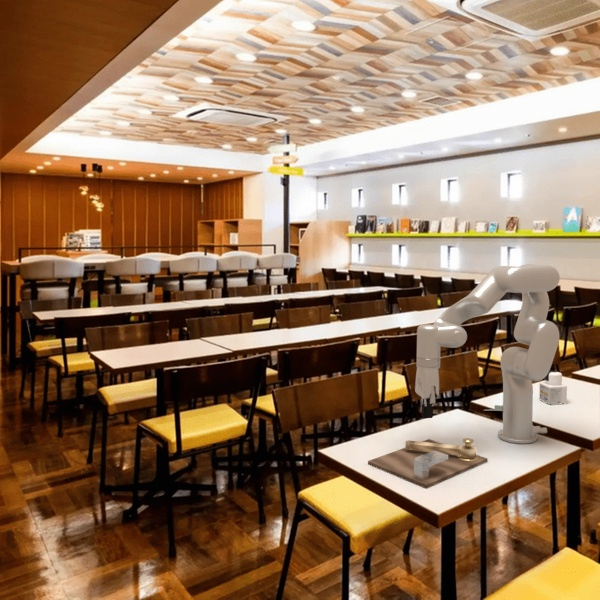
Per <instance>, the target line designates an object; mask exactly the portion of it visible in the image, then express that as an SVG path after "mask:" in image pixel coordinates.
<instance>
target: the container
mask: <svg viewBox="0 0 600 600" xmlns="http://www.w3.org/2000/svg"><path fill="white" fill-rule="evenodd" d="M562 381H563V374H562V373H561V372H560V371H558V370H549V372H548V374H547V375H546V377H545V378H544V382H542V381H541V382H539V400H540V399H541V400H543V401H544V402H547V403H548V404H558V405H560V404H559V403H566V404H567V400H568V399H567V398H568V396H567V395H568V393H567V391H568V387H567V385H565V384H564V383H563V382H562ZM541 400H540V401H541ZM543 401H542V402H543ZM544 402H543V403H544ZM548 404H547V405H548Z"/></svg>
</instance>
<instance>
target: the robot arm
mask: <svg viewBox="0 0 600 600" xmlns="http://www.w3.org/2000/svg"><path fill="white" fill-rule="evenodd" d="M560 278H561V277H560V273H559V271H558V270H557V268H555V267H554V266H552V265H548V264H547V265H546V264H522V265H520V266H515V265H511V266H509V265H498V266H495V267H493V268H492V269H491V270H490V271H489V272H488V273H487V274H486V275H485V276H484V278H482V279H481V281H480V282H479V283H478V284H477V285H476V286H475V288H473V289H472V291H471V292H470V293H469V294H468V295H466V296H465V297H464V298H461V299H460V300H458V301H457V302H455V303H453V304H452V305H450V306H449V307H448V308H446V310H445V311H443V312H442V313H441V315H439V316H438V318H436V320H435V321H434V322H433V323H432V324H430V323H429V324H427V323H426V324H420V325H419V326H418V327H417V330H416V372H415V373H416V374H415V385H414V391H415V393H416V394H417V395H418V396H419V397H421V417H422V418H423V419H433V417H434V415H433V414H434V405H435V404H436V400H437V399H439V396H440V375H439V374H440V373H439V369H441V347H443V348H451V349H453V348H454V349H455V348H460V347H462V346H464V344H465V343H466V341H467V340H468V334H467V331H466V330H465V328H464V327H463V326H460V325H462V324H463V323H464V322H466V321H468V320H470V319H473V318H476V317H480V316H483V315H485V314H488V313H489V312H491V310H492V309H493V308H494V306H495V305H497V303H499V301H500V300H501V299H502V298H503V297H504V296H505V294H507V293H514V294H521V295H522V304H521V307H520V311H519V313H518V317H517V321H516V323H515V325H514V330H513V337H514V338H515V340H516V341H517V342H518V343H519V344H523V345H526V346H529V347H528V349H527V348H523V347H520V346H511V347H508V348H506V349H504V351H503V352H502V353H501V356H500V370H501V375H502V385H503V386H502V405H503V411H502V429H500V430H499V431H497V437H498V438H499V439H500V440H502V441H505V442H508V443H514V444H522V445H523V444H532V443H535V442H537V440H538V434H548V428H547V427H541V425H536V426H535V425H533V404H534V403H533V401H534V399H533V398H534V397H533V396H534V387H533V386H534V385H533V382H540V381H542V380H543V379H544V380H545V377H546V375H547V374H548V372H549V371H551V368H552V364H553V361H554V359H555V355H556V352H557V349H558V346H559V343H560V330H559V328H558V326H557V325H556V324H555V323H554V322H553V321H550V320H548V319H547V317H548V313H549V309H550V298H549V295H548V292H550V291H552V290H554V289H555V288H556V287H557V286H558V285H559V284H560V280H561V279H560Z"/></svg>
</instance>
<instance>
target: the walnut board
mask: <svg viewBox="0 0 600 600" xmlns="http://www.w3.org/2000/svg"><path fill="white" fill-rule="evenodd" d="M421 442H429V443H438V444H443V443H441V442H439V441H436V440H433V439H429V438H428V439H426V440H422V441H421ZM426 453H429V452H425V451H416V450H408V449H406V447H403V448H400V449H397V450H395V451H392V452H389V453H387V454H384V455H381V456H379V457H378V456H377V457H375V458H373V459H370V460H368V461H367V465H369V464H371V465H372V466H371V465H370V466H371V467H374V466H375V467H374V468H376V467H377V469H379V470H381V469H382V470H381V471H383V470H384V472H386V471H387V473H388V472H389V474H390V475H393V476H395V475H396V477H398V478H401V479H402V478H403V480H405V481H408V482H409V483H412V484H415V485H417V486H420V487H421V488H424V489H428V488H431V487H434V486H435V485H438V484H440V483H442V482H444V481H446V480H449V479H452V478H454V477H456V476H458V475H460V474H463V473H465V472H468V471H469V470H471V469H475V468H476V467H478V466H481V465H483V464H485V463H488V458H487V457H484V456H481V455H478V454H476V455H477V456H478V457H479V459H478V460H477V461H474V462H466V461H462V460H460V459H458V458H457V455H451V454H447V455H448V459H447V460H445V461H442V462H440V463H437V464H435V465H432V466H430V467H429V478H427V479H424V480H420V479H417V478H415V477H414V459H415V458H416V457H418V456H421V455H424V454H426Z"/></svg>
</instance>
